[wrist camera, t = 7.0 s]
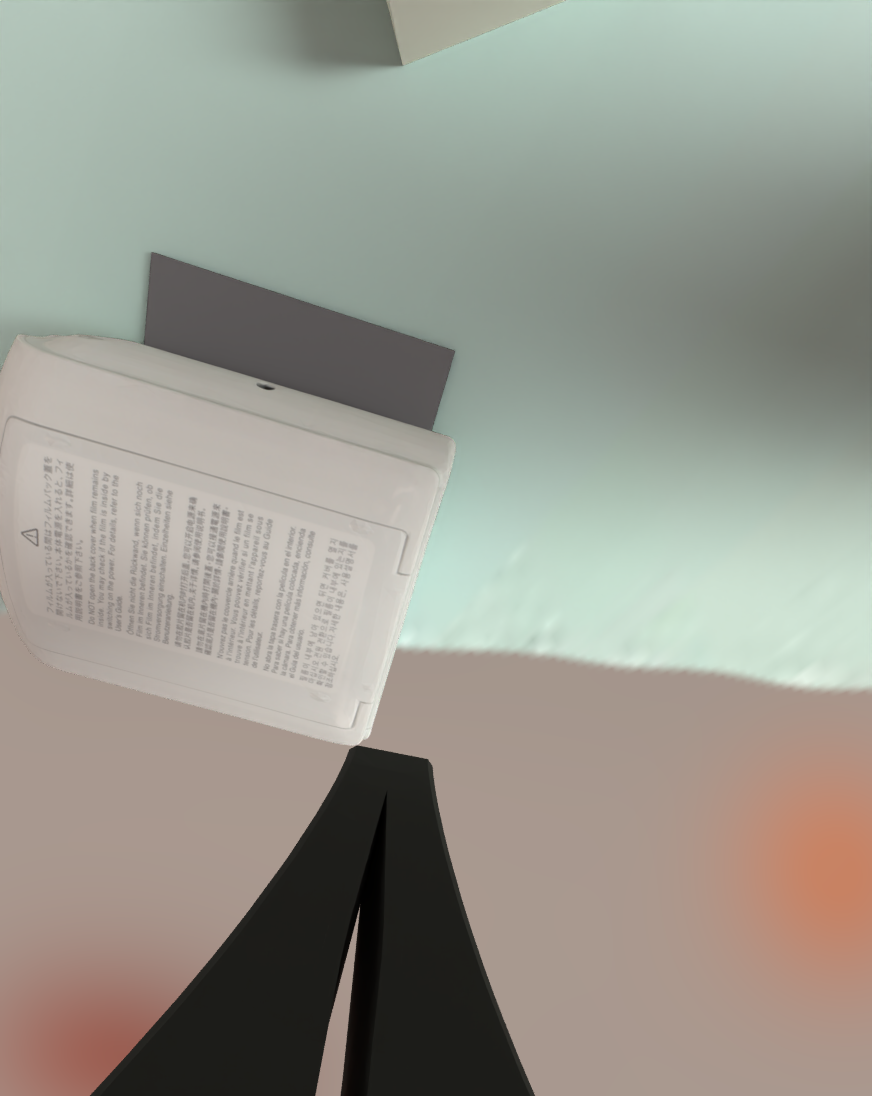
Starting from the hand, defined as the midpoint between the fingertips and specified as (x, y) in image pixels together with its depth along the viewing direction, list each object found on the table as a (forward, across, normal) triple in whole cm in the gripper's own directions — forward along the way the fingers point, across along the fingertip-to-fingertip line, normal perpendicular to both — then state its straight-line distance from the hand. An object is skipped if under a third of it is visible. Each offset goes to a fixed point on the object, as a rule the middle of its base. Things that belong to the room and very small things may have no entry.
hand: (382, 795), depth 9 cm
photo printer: (+8, 0, 0) cm, 8 cm away
